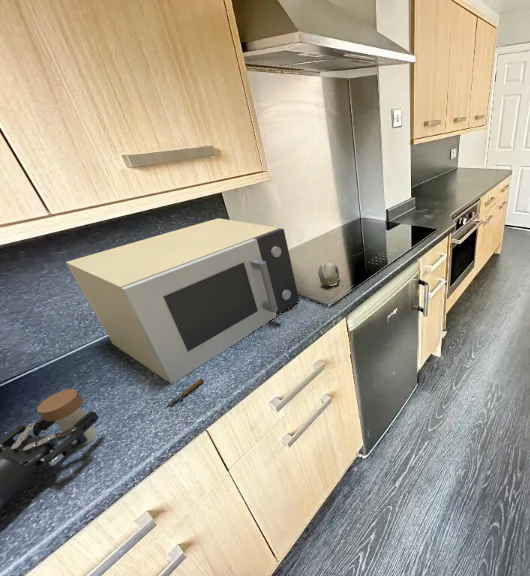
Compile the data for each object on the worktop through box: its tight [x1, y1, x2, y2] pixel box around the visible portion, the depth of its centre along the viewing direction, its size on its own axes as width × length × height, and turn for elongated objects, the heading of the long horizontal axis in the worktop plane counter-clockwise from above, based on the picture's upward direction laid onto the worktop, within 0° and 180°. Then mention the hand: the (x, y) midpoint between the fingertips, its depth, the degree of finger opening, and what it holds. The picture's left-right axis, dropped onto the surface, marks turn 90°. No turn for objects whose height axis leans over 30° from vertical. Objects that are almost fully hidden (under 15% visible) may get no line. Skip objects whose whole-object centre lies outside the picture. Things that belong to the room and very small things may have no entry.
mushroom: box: [36, 388, 99, 446], centre depth 63 cm, size 6×6×11 cm
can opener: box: [165, 378, 204, 408], centre depth 75 cm, size 9×2×1 cm, turn 149°
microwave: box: [65, 217, 300, 383], centre depth 97 cm, size 35×44×27 cm
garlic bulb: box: [317, 261, 340, 287], centre depth 120 cm, size 9×8×10 cm
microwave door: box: [121, 239, 278, 385], centre depth 84 cm, size 7×34×27 cm, turn 148°
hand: (77, 412), depth 64 cm, fingers open, 8 cm apart
